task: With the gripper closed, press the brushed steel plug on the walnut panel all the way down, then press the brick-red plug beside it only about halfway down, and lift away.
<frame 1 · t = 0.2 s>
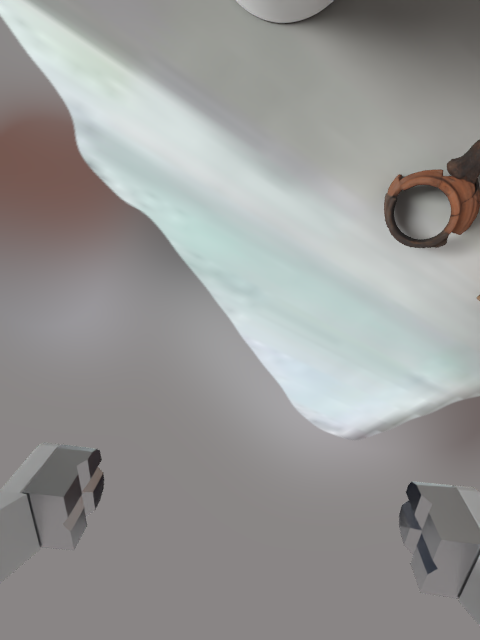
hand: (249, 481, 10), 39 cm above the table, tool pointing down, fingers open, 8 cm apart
pottery mug: (431, 190, 42), on the table
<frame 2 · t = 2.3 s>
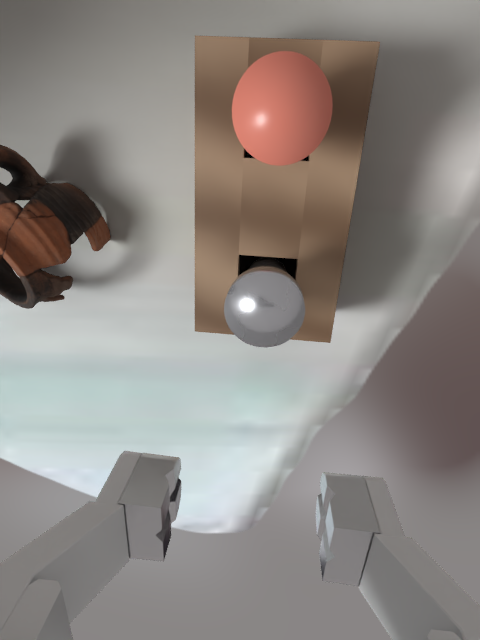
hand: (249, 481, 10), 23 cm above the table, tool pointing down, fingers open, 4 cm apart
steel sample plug: (265, 291, 24), point 8 cm above the table, slide at 0.0 cm
walnut plug panel: (272, 201, 29), on the table
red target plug: (280, 119, 20), point 8 cm above the table, slide at 0.0 cm
pottery mug: (53, 223, 31), on the table
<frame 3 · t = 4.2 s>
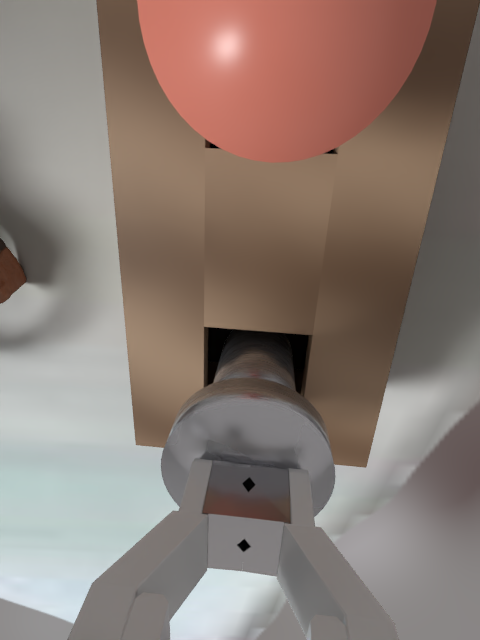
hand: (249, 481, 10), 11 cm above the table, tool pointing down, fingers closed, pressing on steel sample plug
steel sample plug: (253, 399, 13), point 8 cm above the table, slide at 0.1 cm, touching gripper
walnut plug panel: (266, 222, 18), on the table
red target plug: (279, 57, 9), point 8 cm above the table, slide at 0.0 cm
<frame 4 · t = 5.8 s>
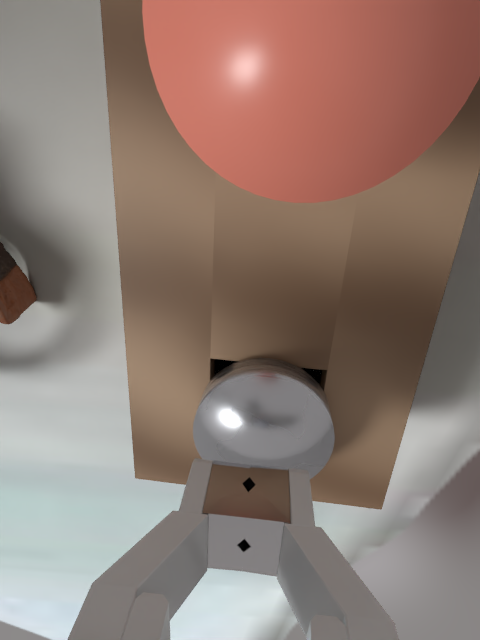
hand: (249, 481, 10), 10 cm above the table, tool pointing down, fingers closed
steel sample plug: (266, 381, 15), point 4 cm above the table, slide at 3.6 cm
walnut plug panel: (277, 242, 17), on the table
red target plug: (301, 77, 8), point 8 cm above the table, slide at 0.0 cm
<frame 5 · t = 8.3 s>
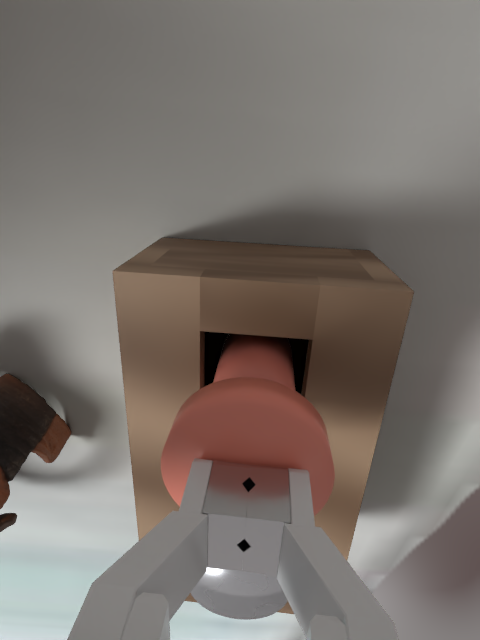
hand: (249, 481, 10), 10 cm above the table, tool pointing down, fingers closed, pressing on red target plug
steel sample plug: (243, 520, 19), point 4 cm above the table, slide at 3.6 cm
walnut plug panel: (252, 398, 21), on the table
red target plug: (252, 399, 13), point 7 cm above the table, slide at 0.6 cm, touching gripper
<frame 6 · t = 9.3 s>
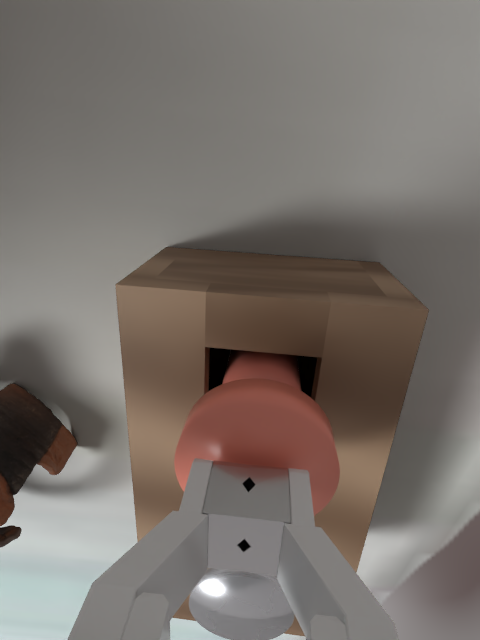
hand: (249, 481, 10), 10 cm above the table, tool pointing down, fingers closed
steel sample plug: (247, 537, 19), point 4 cm above the table, slide at 3.6 cm
walnut plug panel: (257, 411, 21), on the table
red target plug: (260, 400, 13), point 6 cm above the table, slide at 1.7 cm
pottery mug: (1, 423, 23), on the table
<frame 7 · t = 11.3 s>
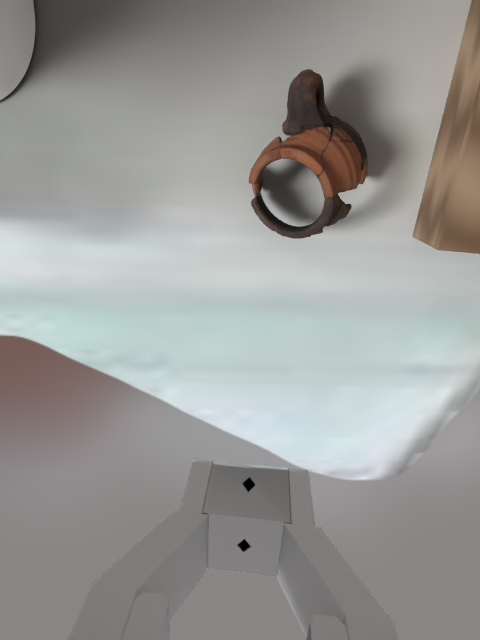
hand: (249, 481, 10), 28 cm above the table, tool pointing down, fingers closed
pottery mug: (307, 161, 33), on the table
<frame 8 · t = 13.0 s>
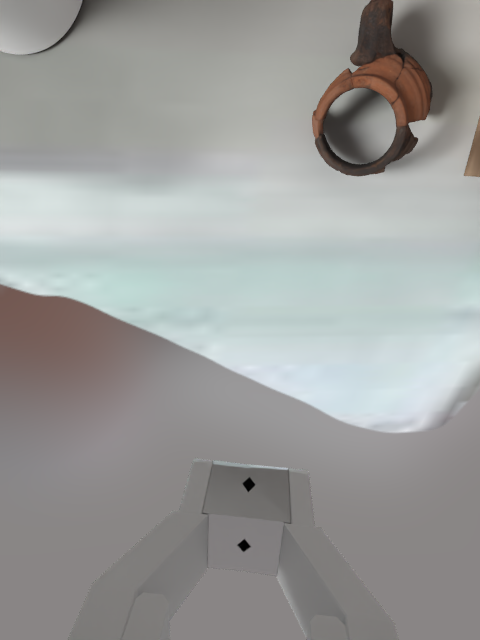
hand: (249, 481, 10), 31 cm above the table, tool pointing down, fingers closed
pottery mug: (365, 101, 33), on the table
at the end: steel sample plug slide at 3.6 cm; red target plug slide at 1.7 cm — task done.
